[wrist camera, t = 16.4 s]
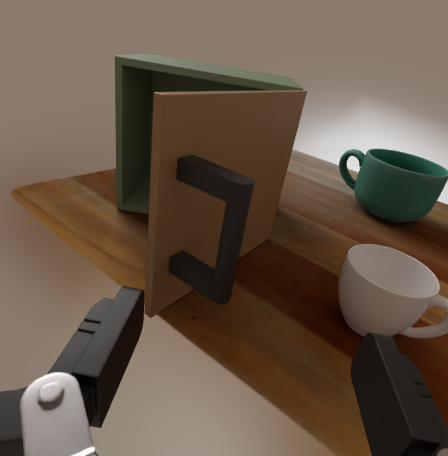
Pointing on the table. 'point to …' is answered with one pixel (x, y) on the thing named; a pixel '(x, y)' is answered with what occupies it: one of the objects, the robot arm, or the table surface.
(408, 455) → the robot arm
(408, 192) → the mug
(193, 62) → the cupboard
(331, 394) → the table surface
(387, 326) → the cup
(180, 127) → the cupboard door
